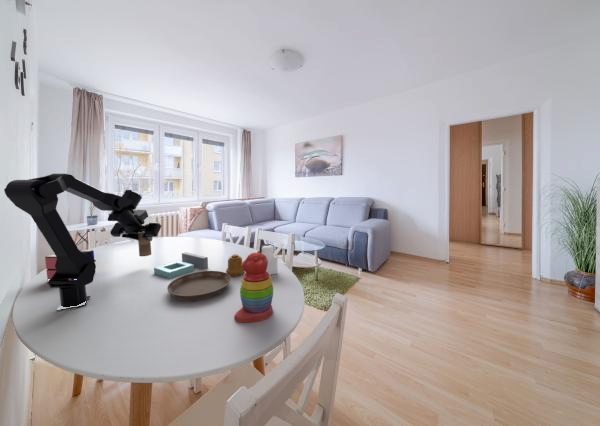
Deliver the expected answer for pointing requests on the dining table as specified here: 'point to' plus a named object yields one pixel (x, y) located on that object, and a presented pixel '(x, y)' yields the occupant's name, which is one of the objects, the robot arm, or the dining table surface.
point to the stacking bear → (255, 290)
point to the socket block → (173, 269)
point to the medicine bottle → (269, 258)
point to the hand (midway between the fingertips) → (146, 239)
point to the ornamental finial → (234, 266)
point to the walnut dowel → (144, 245)
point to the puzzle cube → (51, 264)
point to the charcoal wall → (195, 260)
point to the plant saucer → (199, 285)
